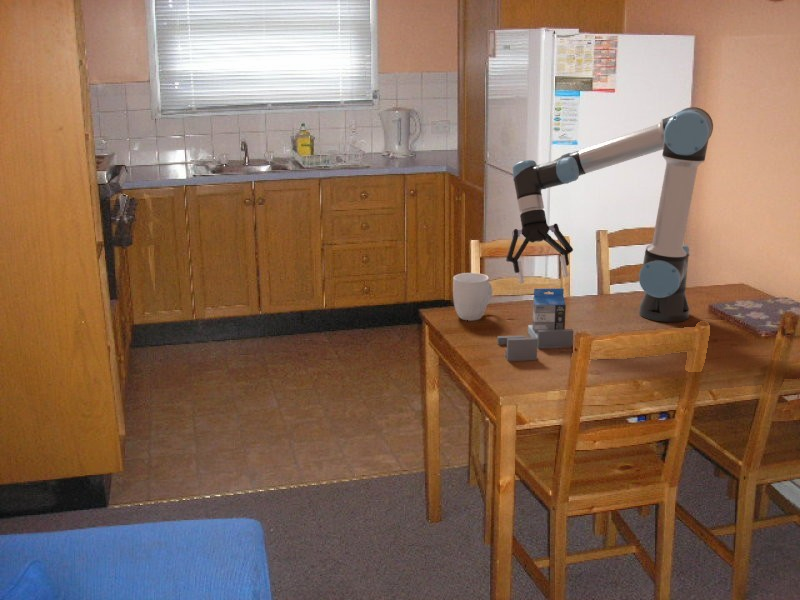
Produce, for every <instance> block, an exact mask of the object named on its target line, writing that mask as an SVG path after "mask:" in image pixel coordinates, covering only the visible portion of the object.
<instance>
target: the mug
mask: <svg viewBox="0 0 800 600" xmlns="http://www.w3.org/2000/svg"><path fill="white" fill-rule="evenodd" d="M452 279H453V283H452V298H453V306H454V309H455V312H456V314H457V315H458V318H459V319H460V320H463V321H467V320H468V322H469V321H472V322H473V321H479V320H480V319H482V317H483V315H484V314H485V311H486V309H487V306H488V304H489V303H490V301H491V300H492V297H493V287H492V284H491V283H490V281H489V280H490V278H489V276H488V275H486V274H484V273H478V272H462V273H458V274H455V275H454V276H453V278H452Z"/></svg>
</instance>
